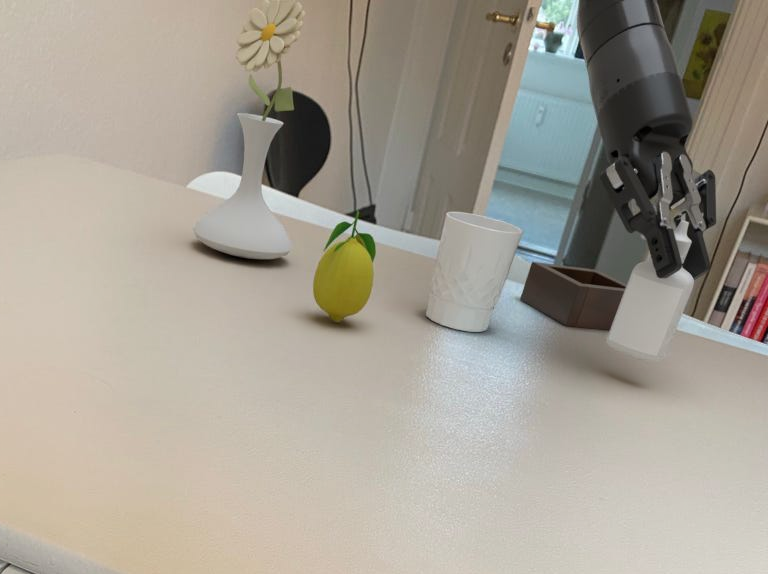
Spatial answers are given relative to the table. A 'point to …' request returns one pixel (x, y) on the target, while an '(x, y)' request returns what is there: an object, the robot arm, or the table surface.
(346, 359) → the table surface
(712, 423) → the table surface
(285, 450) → the table surface
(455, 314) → the white cup
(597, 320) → the holder
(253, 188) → the flower in vase
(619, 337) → the eye dropper bottle
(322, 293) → the lemon
